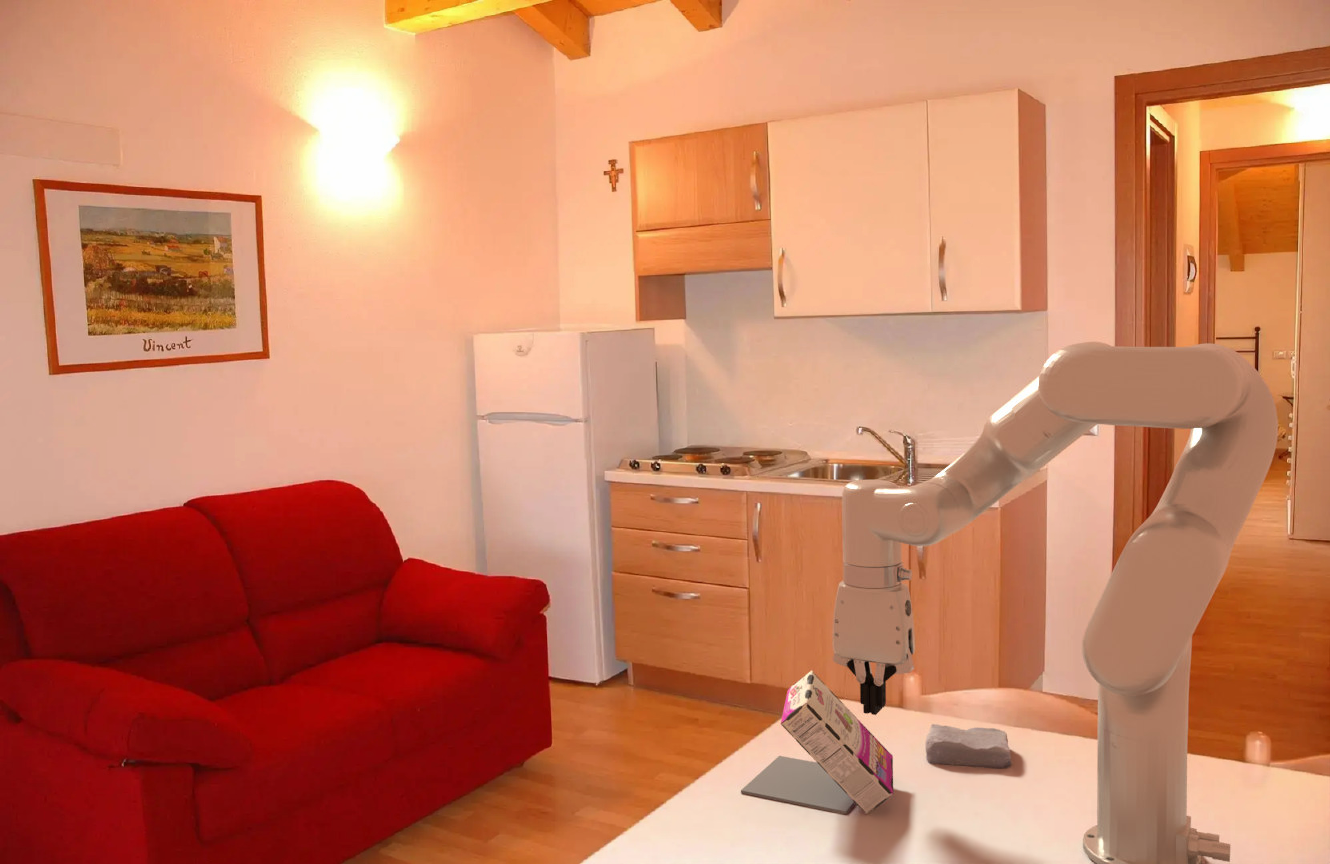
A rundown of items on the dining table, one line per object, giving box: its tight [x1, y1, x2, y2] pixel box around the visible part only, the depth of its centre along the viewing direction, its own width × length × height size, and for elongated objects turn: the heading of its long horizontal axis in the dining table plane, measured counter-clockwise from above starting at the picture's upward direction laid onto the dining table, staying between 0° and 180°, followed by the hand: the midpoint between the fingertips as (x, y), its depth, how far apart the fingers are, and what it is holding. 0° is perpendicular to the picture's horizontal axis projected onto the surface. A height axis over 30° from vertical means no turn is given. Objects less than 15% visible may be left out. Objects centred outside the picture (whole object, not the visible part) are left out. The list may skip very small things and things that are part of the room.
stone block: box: [925, 723, 1012, 769], centre depth 157 cm, size 12×5×10 cm
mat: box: [740, 755, 856, 815], centre depth 148 cm, size 15×13×1 cm
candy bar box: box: [780, 670, 894, 815], centre depth 143 cm, size 11×5×16 cm
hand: (873, 710), depth 142 cm, fingers closed
